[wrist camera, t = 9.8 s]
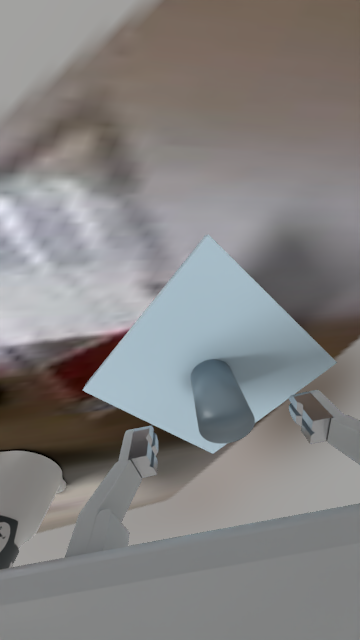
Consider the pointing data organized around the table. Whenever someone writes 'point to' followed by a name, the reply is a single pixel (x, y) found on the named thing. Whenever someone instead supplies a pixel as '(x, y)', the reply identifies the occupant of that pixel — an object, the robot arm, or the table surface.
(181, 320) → the lid
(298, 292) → the table surface
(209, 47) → the table surface
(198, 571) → the robot arm
